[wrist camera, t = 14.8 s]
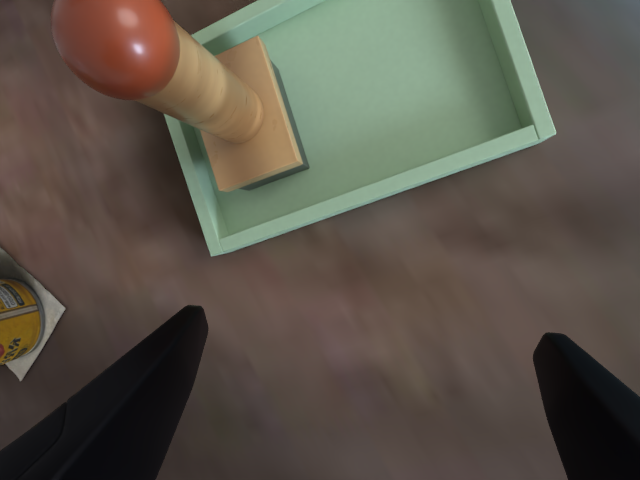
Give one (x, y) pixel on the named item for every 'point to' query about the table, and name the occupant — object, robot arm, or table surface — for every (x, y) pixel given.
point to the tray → (371, 105)
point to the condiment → (23, 316)
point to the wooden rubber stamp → (186, 84)
